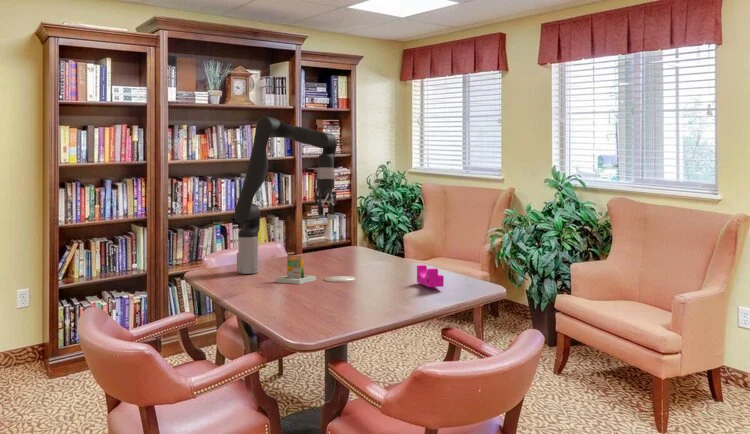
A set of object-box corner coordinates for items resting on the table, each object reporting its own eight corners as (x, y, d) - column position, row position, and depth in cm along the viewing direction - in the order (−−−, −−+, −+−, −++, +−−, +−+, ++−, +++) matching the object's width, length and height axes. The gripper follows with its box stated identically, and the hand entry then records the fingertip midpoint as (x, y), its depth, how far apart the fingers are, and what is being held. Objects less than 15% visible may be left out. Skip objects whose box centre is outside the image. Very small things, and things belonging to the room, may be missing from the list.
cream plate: (318, 280, 262) (318, 279, 262) (334, 277, 274) (334, 275, 274) (345, 282, 255) (345, 281, 255) (360, 278, 268) (360, 277, 268)
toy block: (443, 286, 246) (443, 268, 245) (429, 287, 244) (429, 269, 243) (430, 281, 260) (429, 264, 260) (416, 282, 258) (416, 265, 258)
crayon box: (304, 281, 261) (304, 255, 261) (300, 282, 258) (300, 256, 258) (290, 280, 264) (290, 254, 264) (287, 281, 261) (286, 255, 261)
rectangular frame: (275, 282, 258) (275, 278, 258) (292, 278, 270) (292, 274, 270) (299, 284, 253) (299, 279, 252) (315, 280, 264) (315, 276, 264)
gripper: (327, 178, 265) (327, 214, 266) (309, 177, 252) (309, 215, 253) (341, 178, 262) (341, 214, 262) (324, 177, 249) (324, 215, 250)
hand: (325, 214), depth 258 cm, fingers open, 8 cm apart
